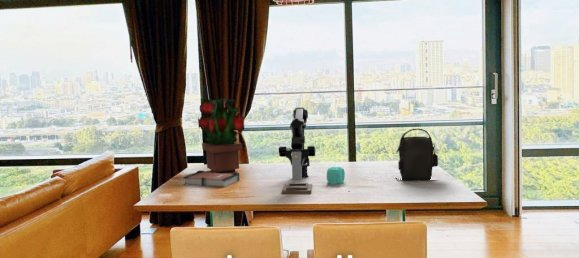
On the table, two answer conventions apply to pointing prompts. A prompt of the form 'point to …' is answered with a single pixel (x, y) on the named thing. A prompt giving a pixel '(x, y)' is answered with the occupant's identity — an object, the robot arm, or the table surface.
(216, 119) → the potted plant
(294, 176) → the block
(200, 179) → the book
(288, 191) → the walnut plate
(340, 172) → the decorative dice
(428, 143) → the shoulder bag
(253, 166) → the table surface
